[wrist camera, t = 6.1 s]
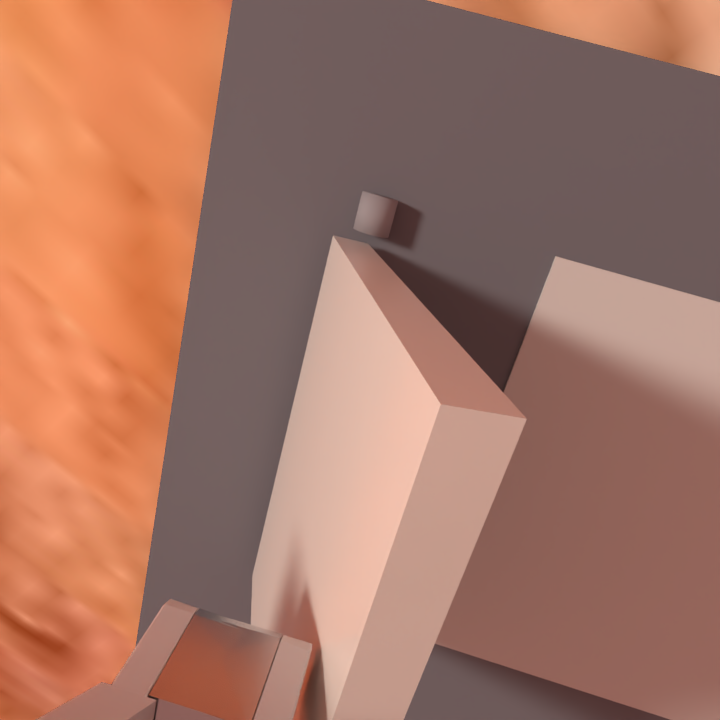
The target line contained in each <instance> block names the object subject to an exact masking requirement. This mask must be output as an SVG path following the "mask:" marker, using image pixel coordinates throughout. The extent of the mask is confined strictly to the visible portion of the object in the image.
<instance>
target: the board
mask: <svg viewBox="0 0 720 720" xmlns="http://www.w3.org/2000/svg"><path fill="white" fill-rule="evenodd" d="M333 235H334V236H338V237H343V238H347V239H351V240H355V241H359V242H364V243H368V244H369V245H370V246H371V247H372V248H373V250H374V251H375V252H376V253H377V254H378V255H379V256H380V257H381V258H382V259H383V261H384V262H385V263H386V264H387V265H388V266H389V267H390V268H391V269H392V271H393V272H394V273H395V274H396V275H397V276H398V277H399V278H400V279H401V280H402V282H403V283H404V284H405V285H406V286H407V287H408V288H409V289H410V290H411V291H412V293H413V294H414V295H415V296H416V297H417V298H418V299H419V300H420V301H421V303H422V304H423V305H424V306H425V307H426V308H427V309H428V310H429V311H430V312H431V314H432V315H433V316H434V317H435V318H436V319H437V320H438V321H439V322H440V323H441V325H442V326H443V327H444V328H445V329H446V330H447V331H448V332H449V333H450V334H451V336H452V337H453V338H454V339H455V340H456V341H457V342H458V343H459V344H460V346H461V347H462V348H463V349H464V350H465V351H466V352H467V353H468V354H469V355H470V357H471V358H472V359H473V360H474V361H475V362H476V363H477V364H478V365H479V366H480V368H481V369H482V370H483V371H484V372H485V373H486V374H487V375H488V376H489V378H490V379H491V380H492V381H493V382H494V383H495V384H496V385H497V386H498V387H499V389H500V390H501V391H502V392H503V393H504V394H505V395H506V396H507V397H508V398H509V400H510V401H511V402H512V403H513V404H514V405H515V406H516V407H517V408H518V409H519V411H520V412H521V413H522V414H523V415H524V416H525V417H526V418H527V420H526V423H525V425H524V427H523V430H522V432H521V435H520V437H519V440H518V442H517V444H516V447H515V449H514V452H513V454H512V457H511V459H510V462H509V464H508V466H507V469H506V471H505V474H504V476H503V479H502V481H501V483H500V486H499V488H498V491H497V493H496V496H495V498H494V501H493V503H492V505H491V508H490V510H489V513H488V515H487V518H486V520H485V522H484V525H483V527H482V530H481V532H480V535H479V537H478V540H477V542H476V544H475V547H474V549H473V552H472V554H471V557H470V559H469V562H468V564H467V566H466V569H465V571H464V574H463V576H462V579H461V581H460V583H459V586H458V588H457V591H456V593H455V596H454V598H453V601H452V603H451V605H450V608H449V610H448V613H447V615H446V618H445V620H444V622H443V625H442V627H441V630H440V632H439V635H438V637H437V640H436V642H435V644H434V647H433V649H432V652H431V654H430V657H429V659H428V661H427V664H426V666H425V669H424V671H423V674H422V676H421V679H420V681H419V683H418V686H417V688H416V691H415V693H414V696H413V698H412V700H411V703H410V705H409V708H408V710H407V713H406V715H405V718H404V720H720V76H717V75H713V74H709V73H705V72H701V71H697V70H694V69H690V68H686V67H682V66H678V65H674V64H670V63H667V62H663V61H659V60H655V59H651V58H647V57H643V56H640V55H636V54H632V53H628V52H624V51H620V50H616V49H613V48H609V47H605V46H601V45H597V44H593V43H589V42H585V41H582V40H578V39H574V38H570V37H566V36H562V35H558V34H555V33H551V32H547V31H543V30H539V29H535V28H531V27H528V26H524V25H520V24H516V23H512V22H508V21H504V20H501V19H497V18H493V17H489V16H485V15H481V14H477V13H473V12H470V11H466V10H462V9H458V8H454V7H450V6H446V5H443V4H439V3H435V2H431V1H427V0H233V1H232V8H231V14H230V21H229V28H228V35H227V41H226V48H225V55H224V61H223V68H222V75H221V81H220V88H219V95H218V101H217V108H216V115H215V121H214V128H213V135H212V141H211V148H210V155H209V161H208V168H207V175H206V181H205V188H204V195H203V201H202V208H201V215H200V221H199V228H198V235H197V241H196V248H195V255H194V261H193V268H192V275H191V281H190V288H189V295H188V301H187V308H186V315H185V321H184V328H183V335H182V342H181V348H180V355H179V362H178V368H177V375H176V382H175V388H174V395H173V402H172V408H171V415H170V422H169V428H168V435H167V442H166V448H165V455H164V462H163V468H162V475H161V482H160V488H159V495H158V502H157V508H156V515H155V522H154V528H153V535H152V542H151V548H150V555H149V562H148V568H147V575H146V582H145V588H144V595H143V602H142V608H141V615H140V622H139V629H138V635H137V642H136V646H137V644H138V643H139V641H140V640H141V638H142V637H143V635H144V634H145V632H146V631H147V629H148V628H149V626H150V624H151V623H152V621H153V620H154V618H155V617H156V615H157V614H158V612H159V611H160V609H161V608H162V606H163V605H164V604H165V603H166V602H168V601H169V600H170V599H173V600H176V601H179V602H182V603H185V604H188V605H190V606H193V607H196V608H201V609H203V610H206V611H209V612H212V613H215V614H218V615H221V616H224V617H227V618H230V619H234V620H237V621H240V622H244V623H247V624H250V625H251V602H252V575H253V571H254V567H255V562H256V558H257V554H258V550H259V546H260V541H261V537H262V533H263V529H264V524H265V520H266V516H267V512H268V508H269V503H270V499H271V495H272V491H273V486H274V482H275V478H276V474H277V470H278V465H279V461H280V457H281V453H282V448H283V444H284V440H285V436H286V432H287V427H288V423H289V419H290V415H291V410H292V406H293V402H294V398H295V394H296V389H297V385H298V381H299V377H300V373H301V368H302V364H303V360H304V356H305V351H306V347H307V343H308V339H309V335H310V330H311V326H312V322H313V318H314V313H315V309H316V305H317V301H318V297H319V292H320V288H321V284H322V280H323V275H324V271H325V267H326V263H327V259H328V254H329V250H330V246H331V242H332V237H333Z"/></svg>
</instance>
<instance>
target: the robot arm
mask: <svg viewBox="0 0 720 720" xmlns="http://www.w3.org/2000/svg"><path fill="white" fill-rule="evenodd" d="M282 636H283V637H282ZM311 651H312V644H311V643H308V642H305V641H302V640H299V639H295V638H292V637H289V636H286V635H283V634H280V633H277V632H274V631H270V630H267V629H264V628H260V627H257V626H254V625H250V624H247V623H244V622H240V621H237V620H234V619H230V618H227V617H224V616H221V615H218V614H215V613H212V612H209V611H206V610H203V609H201V608H196V607H193V606H190V605H188V604H185V603H182V602H179V601H176V600H173V599H170V600H169V601H168V602H166V603H165V604H164V605H163V606H162V608H161V609H160V611H159V612H158V614H157V615H156V617H155V618H154V620H153V621H152V623H151V624H150V626H149V628H148V629H147V631H146V632H145V634H144V635H143V637H142V638H141V640H140V641H139V643H138V644H137V646H136V647H135V649H134V650H133V652H132V653H131V655H130V657H129V658H128V660H127V661H126V663H125V664H124V666H123V667H122V669H121V670H120V672H119V673H118V675H117V676H116V678H115V679H114V681H113V683H112V684H111V685H110V684H107V683H103V682H101V683H99V684H97V685H96V686H94V687H92V688H90V689H89V690H87V691H85V692H83V693H82V694H80V695H78V696H76V697H75V698H73V699H71V700H69V701H68V702H66V703H64V704H62V705H61V706H59V707H57V708H55V709H54V710H52V711H50V712H48V713H46V714H45V715H43V716H41V717H39V718H38V719H36V720H293V717H294V713H295V710H296V706H297V702H298V699H299V695H300V691H301V688H302V684H303V680H304V677H305V673H306V669H307V666H308V662H309V658H310V655H311Z"/></svg>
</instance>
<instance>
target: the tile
mask: <svg viewBox="0 0 720 720" xmlns="http://www.w3.org/2000/svg"><path fill="white" fill-rule="evenodd" d="M526 420H527V418H526V417H525V416H524V415H523V414H522V413H521V412H520V411H519V409H518V408H517V407H516V406H515V405H514V404H513V403H512V402H511V401H510V400H509V398H508V397H507V396H506V395H505V394H504V393H503V392H502V391H501V390H500V389H499V387H498V386H497V385H496V384H495V383H494V382H493V381H492V380H491V379H490V378H489V376H488V375H487V374H486V373H485V372H484V371H483V370H482V369H481V368H480V366H479V365H478V364H477V363H476V362H475V361H474V360H473V359H472V358H471V357H470V355H469V354H468V353H467V352H466V351H465V350H464V349H463V348H462V347H461V346H460V344H459V343H458V342H457V341H456V340H455V339H454V338H453V337H452V336H451V334H450V333H449V332H448V331H447V330H446V329H445V328H444V327H443V326H442V325H441V323H440V322H439V321H438V320H437V319H436V318H435V317H434V316H433V315H432V314H431V312H430V311H429V310H428V309H427V308H426V307H425V306H424V305H423V304H422V303H421V301H420V300H419V299H418V298H417V297H416V296H415V295H414V294H413V293H412V291H411V290H410V289H409V288H408V287H407V286H406V285H405V284H404V283H403V282H402V280H401V279H400V278H399V277H398V276H397V275H396V274H395V273H394V272H393V271H392V269H391V268H390V267H389V266H388V265H387V264H386V263H385V262H384V261H383V259H382V258H381V257H380V256H379V255H378V254H377V253H376V252H375V251H374V250H373V248H372V247H371V246H370V245H369V244H368V243H364V242H359V241H355V240H351V239H347V238H343V237H338V236H334V235H333V237H332V242H331V246H330V250H329V254H328V259H327V263H326V267H325V271H324V275H323V280H322V284H321V288H320V292H319V297H318V301H317V305H316V309H315V313H314V318H313V322H312V326H311V330H310V335H309V339H308V343H307V347H306V351H305V356H304V360H303V364H302V368H301V373H300V377H299V381H298V385H297V389H296V394H295V398H294V402H293V406H292V410H291V415H290V419H289V423H288V427H287V432H286V436H285V440H284V444H283V448H282V453H281V457H280V461H279V465H278V470H277V474H276V478H275V482H274V486H273V491H272V495H271V499H270V503H269V508H268V512H267V516H266V520H265V524H264V529H263V533H262V537H261V541H260V546H259V550H258V554H257V558H256V562H255V567H254V571H253V575H252V602H251V625H254V626H257V627H260V628H264V629H267V630H270V631H274V632H277V633H280V634H283V635H286V636H289V637H292V638H295V639H299V640H302V641H305V642H308V643H311V644H312V651H311V655H310V658H309V662H308V666H307V669H306V673H305V677H304V680H303V684H302V688H301V691H300V695H299V699H298V702H297V706H296V710H295V713H294V717H293V720H404V718H405V715H406V713H407V710H408V708H409V705H410V703H411V700H412V698H413V696H414V693H415V691H416V688H417V686H418V683H419V681H420V679H421V676H422V674H423V671H424V669H425V666H426V664H427V661H428V659H429V657H430V654H431V652H432V649H433V647H434V644H435V642H436V640H437V637H438V635H439V632H440V630H441V627H442V625H443V622H444V620H445V618H446V615H447V613H448V610H449V608H450V605H451V603H452V601H453V598H454V596H455V593H456V591H457V588H458V586H459V583H460V581H461V579H462V576H463V574H464V571H465V569H466V566H467V564H468V562H469V559H470V557H471V554H472V552H473V549H474V547H475V544H476V542H477V540H478V537H479V535H480V532H481V530H482V527H483V525H484V522H485V520H486V518H487V515H488V513H489V510H490V508H491V505H492V503H493V501H494V498H495V496H496V493H497V491H498V488H499V486H500V483H501V481H502V479H503V476H504V474H505V471H506V469H507V466H508V464H509V462H510V459H511V457H512V454H513V452H514V449H515V447H516V444H517V442H518V440H519V437H520V435H521V432H522V430H523V427H524V425H525V423H526ZM282 637H283V636H282Z"/></svg>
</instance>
